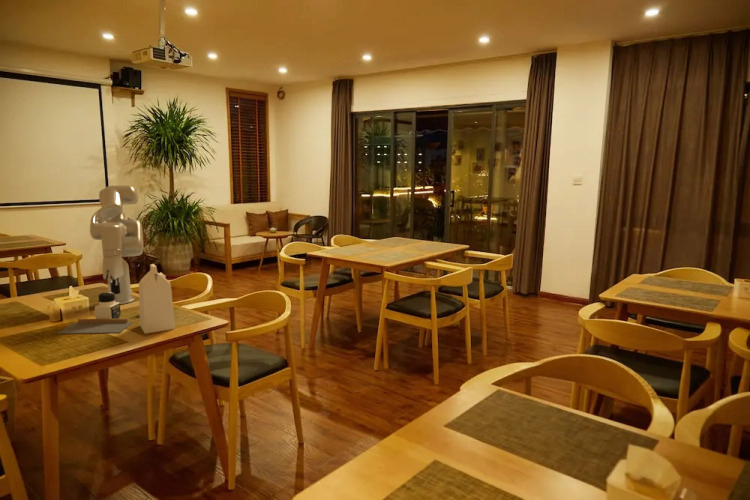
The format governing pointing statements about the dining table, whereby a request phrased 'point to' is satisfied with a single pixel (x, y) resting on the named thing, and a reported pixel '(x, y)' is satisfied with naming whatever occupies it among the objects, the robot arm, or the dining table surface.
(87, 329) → the tipping mat
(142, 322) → the milk
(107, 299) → the medicine bottle
